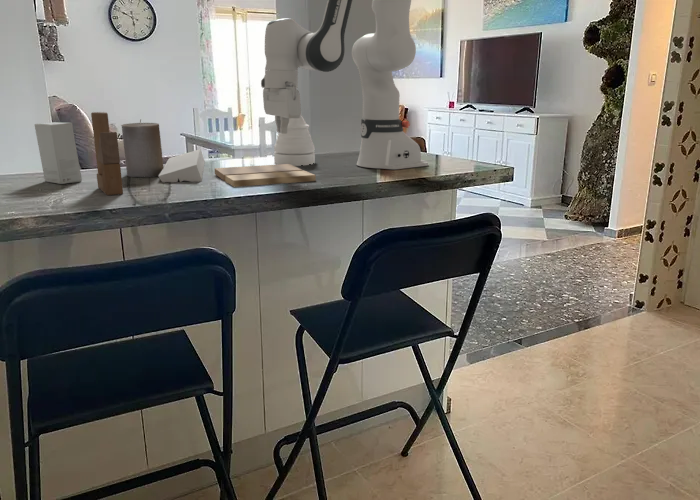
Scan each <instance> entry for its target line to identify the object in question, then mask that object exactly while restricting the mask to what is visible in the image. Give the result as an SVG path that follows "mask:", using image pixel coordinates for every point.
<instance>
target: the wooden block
mask: <svg viewBox="0 0 700 500" xmlns="http://www.w3.org/2000/svg"><path fill="white" fill-rule="evenodd" d="M90 116H91V123H92V125H91V126H92V132H93V141H94V150H95V151H94V152H95V158H96V168H97V169H96V170H97V173H96V180H97V187H98V189H100V191H102V192H103V193H104V194H105V195H106V196H118V194H119V195H123V194H124V189H123V187H124V186H123V179H122V171H121V170H122V168H121V161H120V160H121V159H120V151H119V141H118V139H119V138H118V132H117V131H110V123H109V115H108V112H106V111H93V112H91V114H90Z"/></svg>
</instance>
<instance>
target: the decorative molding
mask: <svg viewBox="0 0 700 500" xmlns="http://www.w3.org/2000/svg"><path fill="white" fill-rule="evenodd" d="M205 163H206V162H205V158H204V156H203V153H202V149H201V148H199V149H196V150H193V151H189V152H185V153H182V154H179V155H176V156H172V157H169V158H168V159H167V161H166V163H165V164H164V165H163V169H162V171H161V173H160V174H159V176H158V178H159V179H160V182H161V183H167V182H168V183H178V181H179V182H180V183H182V182H183V181H187V182H202V181H203V176H204V170H205Z"/></svg>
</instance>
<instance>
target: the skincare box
mask: <svg viewBox="0 0 700 500" xmlns="http://www.w3.org/2000/svg"><path fill="white" fill-rule="evenodd" d="M34 129H35V134H36V140H37V145H38V150H39V151H38V153H39V156H40V162H41V168H42V172H43V178H44V182H47V183H51V184H52V183H54V184H58V185H65V184H71V183H72V184H73V183H81V182H83V181H82V180H83V178H82V173H81V167H80V161H79V156H78V151H77V145H76V139H75V132H74V127H73V122H57V121H53V122H41V123H35V124H34Z"/></svg>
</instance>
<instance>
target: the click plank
mask: <svg viewBox="0 0 700 500" xmlns="http://www.w3.org/2000/svg"><path fill="white" fill-rule="evenodd" d="M289 171H303V169H301V168H300V167H298V166H293V165H291V164H279V165H278V164H264V165H251V166H249V165H248V166H231V167H216V168H215V167H214V175H215V176H217V177H218V178H220V179H221V180H222V181H225V182H226V180H225V176H227V175H242V174H258V173H273V172H289Z"/></svg>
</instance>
